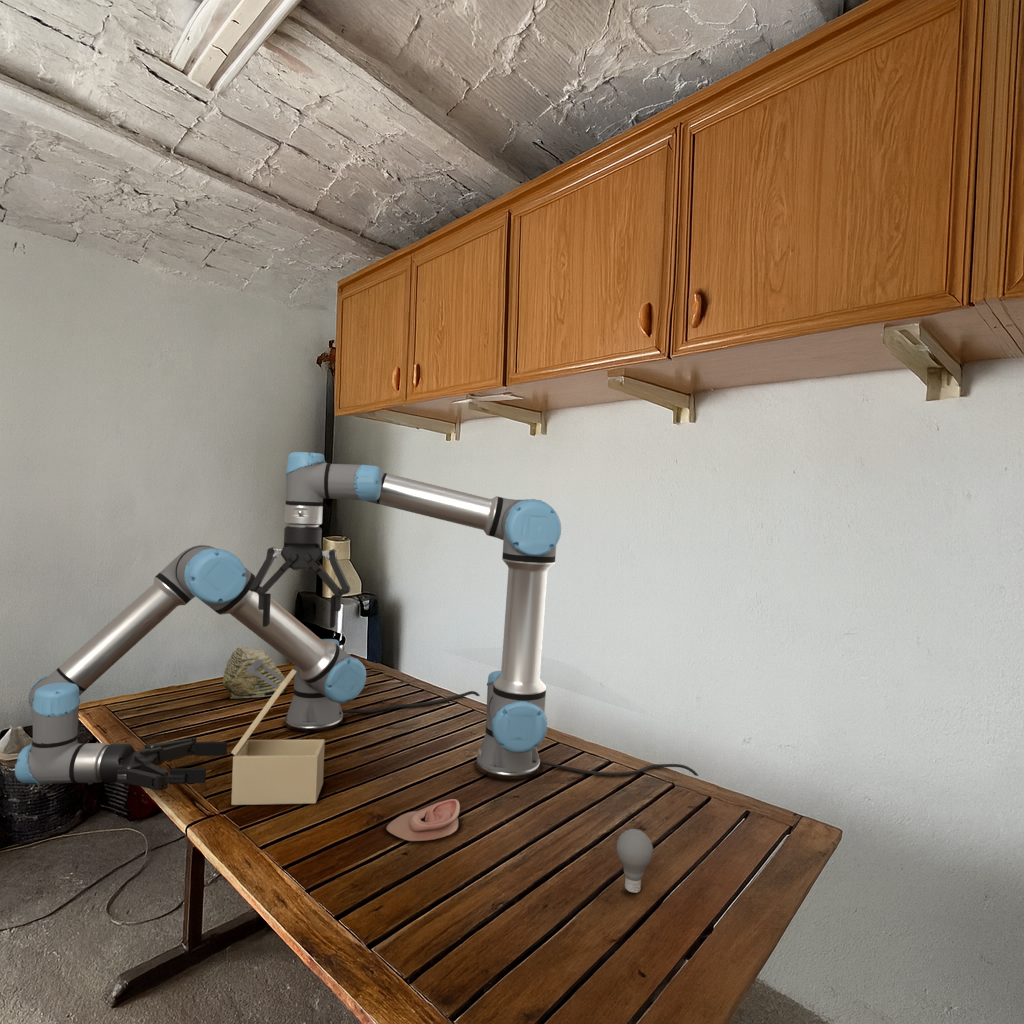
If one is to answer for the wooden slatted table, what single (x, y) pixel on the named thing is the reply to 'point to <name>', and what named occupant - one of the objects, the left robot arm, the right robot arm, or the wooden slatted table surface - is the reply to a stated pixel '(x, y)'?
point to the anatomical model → (427, 822)
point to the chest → (278, 772)
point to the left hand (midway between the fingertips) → (216, 761)
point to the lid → (253, 670)
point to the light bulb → (634, 857)
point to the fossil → (245, 683)
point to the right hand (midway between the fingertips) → (299, 626)
